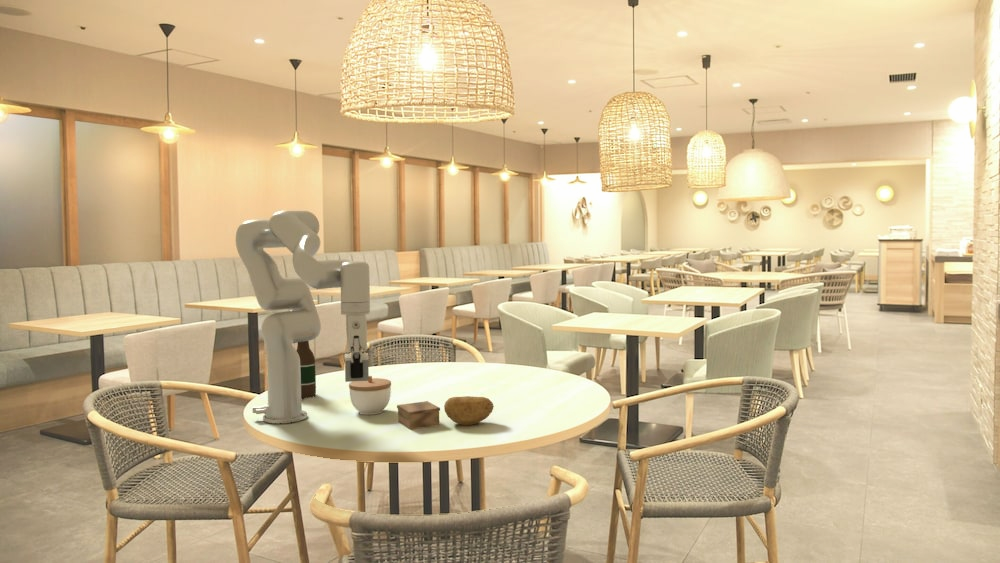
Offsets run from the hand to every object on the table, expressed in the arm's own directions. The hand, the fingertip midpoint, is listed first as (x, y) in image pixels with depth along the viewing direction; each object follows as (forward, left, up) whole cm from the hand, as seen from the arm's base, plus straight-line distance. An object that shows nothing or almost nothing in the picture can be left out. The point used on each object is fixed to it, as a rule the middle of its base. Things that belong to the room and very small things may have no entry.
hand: (356, 374), depth 196 cm
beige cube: (0, 0, -1) cm, 1 cm away
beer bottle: (-17, +54, -17) cm, 59 cm away
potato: (+31, +6, -17) cm, 36 cm away
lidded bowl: (+4, +27, -17) cm, 32 cm away
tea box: (+17, +10, -17) cm, 26 cm away
